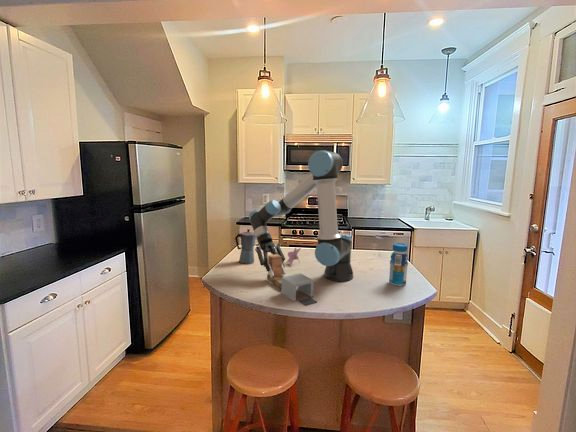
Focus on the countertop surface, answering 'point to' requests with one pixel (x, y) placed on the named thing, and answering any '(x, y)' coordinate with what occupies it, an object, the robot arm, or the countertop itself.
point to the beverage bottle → (398, 264)
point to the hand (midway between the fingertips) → (278, 275)
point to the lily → (293, 256)
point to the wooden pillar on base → (275, 269)
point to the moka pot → (246, 246)
